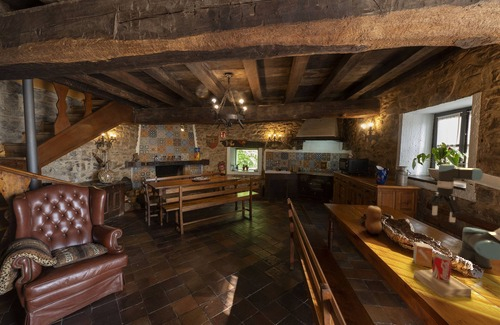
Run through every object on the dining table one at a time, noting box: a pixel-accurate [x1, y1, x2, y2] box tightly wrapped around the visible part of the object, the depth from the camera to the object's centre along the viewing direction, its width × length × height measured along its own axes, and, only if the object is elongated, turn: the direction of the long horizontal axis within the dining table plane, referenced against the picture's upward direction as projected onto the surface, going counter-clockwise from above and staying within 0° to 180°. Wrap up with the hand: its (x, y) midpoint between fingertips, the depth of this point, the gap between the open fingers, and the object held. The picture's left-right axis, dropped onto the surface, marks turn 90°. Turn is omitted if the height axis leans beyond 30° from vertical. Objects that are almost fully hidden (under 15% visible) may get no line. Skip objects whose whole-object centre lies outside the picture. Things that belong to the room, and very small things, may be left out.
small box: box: [412, 241, 434, 269], centre depth 128 cm, size 8×6×13 cm
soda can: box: [432, 253, 452, 282], centre depth 106 cm, size 7×7×13 cm
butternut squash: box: [364, 205, 383, 235], centre depth 176 cm, size 14×13×25 cm
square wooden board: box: [413, 269, 472, 298], centre depth 107 cm, size 16×16×4 cm
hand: (442, 218), depth 128 cm, fingers open, 13 cm apart
